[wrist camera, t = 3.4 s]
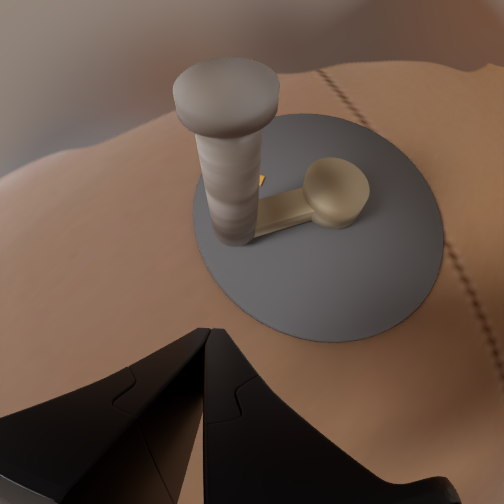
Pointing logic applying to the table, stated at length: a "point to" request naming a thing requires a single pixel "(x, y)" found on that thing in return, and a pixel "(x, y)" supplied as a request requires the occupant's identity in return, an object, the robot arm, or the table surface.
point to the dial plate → (331, 239)
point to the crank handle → (255, 155)
